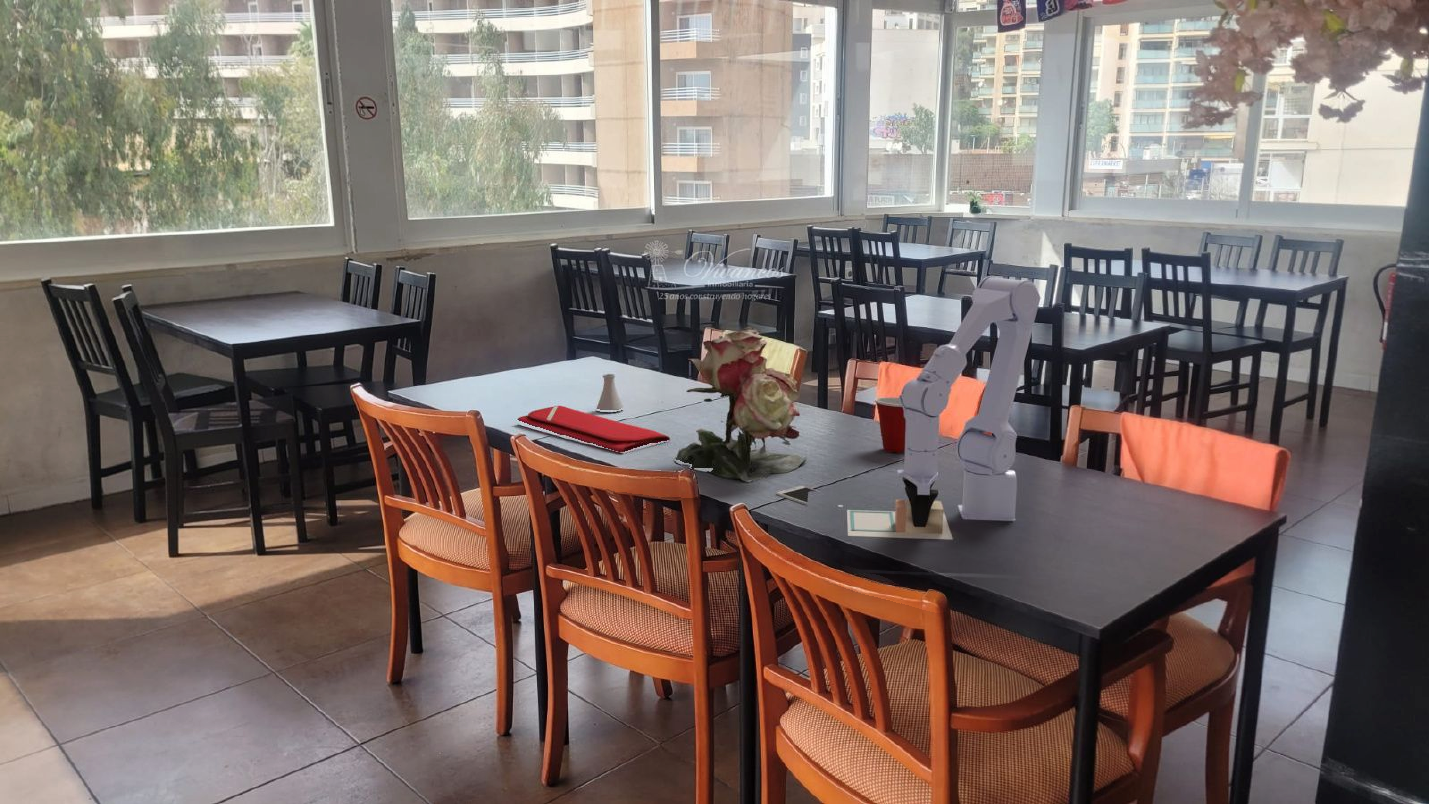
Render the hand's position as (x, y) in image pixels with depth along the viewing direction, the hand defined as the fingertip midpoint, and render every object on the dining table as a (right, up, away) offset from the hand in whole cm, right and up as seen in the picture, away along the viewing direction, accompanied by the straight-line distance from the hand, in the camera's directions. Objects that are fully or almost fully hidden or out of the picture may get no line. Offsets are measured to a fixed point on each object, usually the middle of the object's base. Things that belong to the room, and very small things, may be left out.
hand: (918, 521), depth 178 cm
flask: (-65, +19, +94) cm, 116 cm away
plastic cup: (+6, +10, +54) cm, 55 cm away
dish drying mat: (-67, +13, +70) cm, 98 cm away
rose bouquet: (-29, +8, +44) cm, 53 cm away
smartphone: (-17, +1, +18) cm, 25 cm away
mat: (-3, -1, +3) cm, 4 cm away
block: (0, -1, 0) cm, 1 cm away
